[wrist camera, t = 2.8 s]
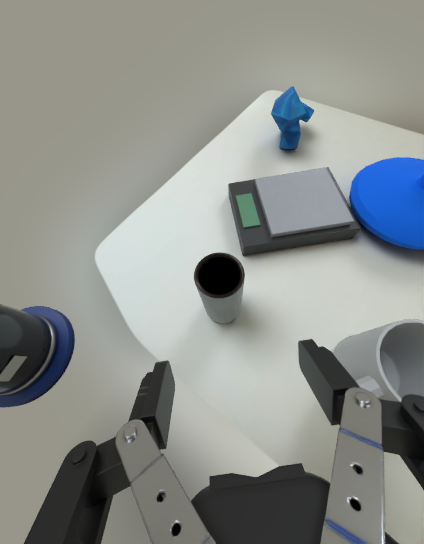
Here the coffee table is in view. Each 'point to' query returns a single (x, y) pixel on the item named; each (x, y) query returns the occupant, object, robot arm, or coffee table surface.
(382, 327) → the cup
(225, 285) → the grey cylindrical tube
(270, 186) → the scale
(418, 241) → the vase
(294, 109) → the crystal
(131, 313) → the coffee table surface
